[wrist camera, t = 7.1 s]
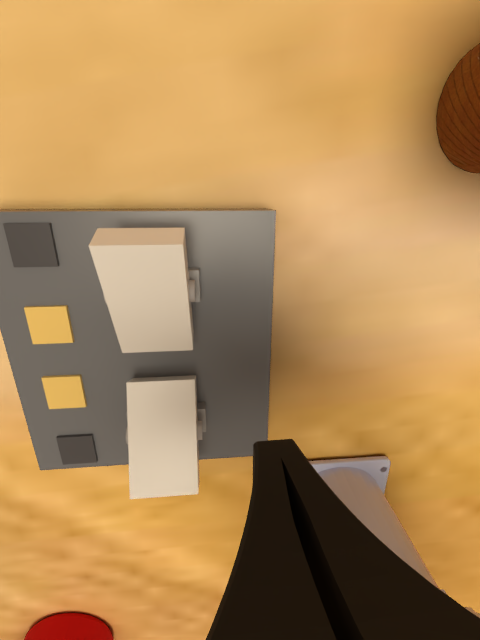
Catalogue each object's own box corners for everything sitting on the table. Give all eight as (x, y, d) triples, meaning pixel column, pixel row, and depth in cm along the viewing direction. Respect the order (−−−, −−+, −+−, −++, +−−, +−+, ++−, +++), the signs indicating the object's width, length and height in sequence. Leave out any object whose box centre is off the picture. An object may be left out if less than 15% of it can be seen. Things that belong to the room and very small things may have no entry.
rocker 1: (198, 329, 18) (198, 350, 17) (122, 332, 17) (117, 353, 16) (190, 226, 14) (189, 244, 13) (91, 226, 13) (81, 245, 12)
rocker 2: (203, 479, 19) (203, 493, 17) (132, 485, 18) (124, 499, 17) (200, 374, 19) (199, 379, 17) (128, 377, 18) (121, 382, 17)
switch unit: (261, 429, 23) (268, 463, 20) (57, 441, 22) (34, 479, 19) (267, 208, 18) (278, 210, 15) (0, 209, 17) (-45, 212, 14)
